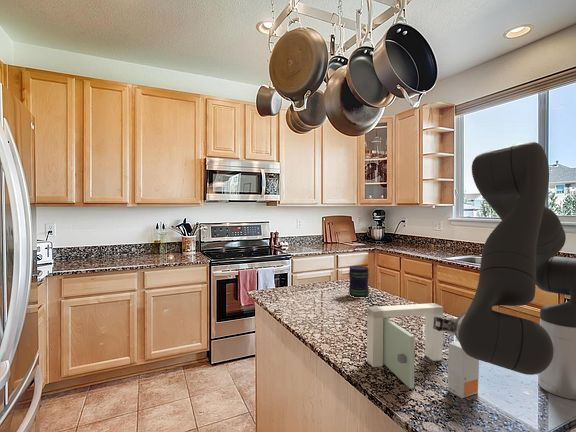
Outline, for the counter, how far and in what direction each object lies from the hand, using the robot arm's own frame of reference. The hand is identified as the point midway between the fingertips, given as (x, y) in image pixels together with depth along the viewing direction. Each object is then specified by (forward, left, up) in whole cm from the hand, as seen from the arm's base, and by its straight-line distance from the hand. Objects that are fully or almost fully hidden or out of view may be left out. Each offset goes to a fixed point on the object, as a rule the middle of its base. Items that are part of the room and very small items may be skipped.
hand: (466, 328), depth 74 cm
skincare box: (-4, -6, -18) cm, 20 cm away
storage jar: (-15, -93, -18) cm, 96 cm away
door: (+9, -17, -18) cm, 26 cm away
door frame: (+1, -24, -18) cm, 30 cm away
